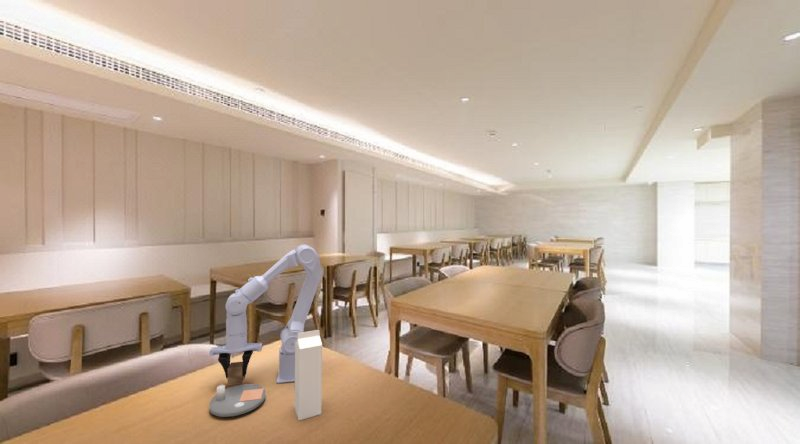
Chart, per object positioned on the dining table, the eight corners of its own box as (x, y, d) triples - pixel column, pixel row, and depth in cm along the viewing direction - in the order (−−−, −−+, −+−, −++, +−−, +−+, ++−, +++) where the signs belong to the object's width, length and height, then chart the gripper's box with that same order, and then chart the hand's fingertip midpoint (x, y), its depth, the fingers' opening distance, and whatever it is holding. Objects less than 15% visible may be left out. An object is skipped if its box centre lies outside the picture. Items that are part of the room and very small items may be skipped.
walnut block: (244, 376, 100) (244, 361, 100) (241, 383, 96) (242, 367, 96) (231, 378, 99) (231, 362, 99) (227, 384, 95) (227, 368, 95)
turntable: (268, 385, 97) (268, 370, 97) (261, 412, 83) (261, 394, 83) (218, 391, 93) (218, 375, 93) (201, 420, 79) (201, 402, 79)
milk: (321, 414, 84) (323, 333, 84) (298, 421, 81) (300, 337, 81) (315, 402, 89) (317, 326, 89) (293, 408, 86) (295, 329, 86)
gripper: (263, 326, 103) (263, 367, 103) (214, 330, 99) (214, 372, 99) (260, 333, 96) (259, 377, 96) (207, 338, 92) (207, 383, 92)
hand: (236, 375), depth 97 cm, fingers closed on walnut block, 4 cm apart
